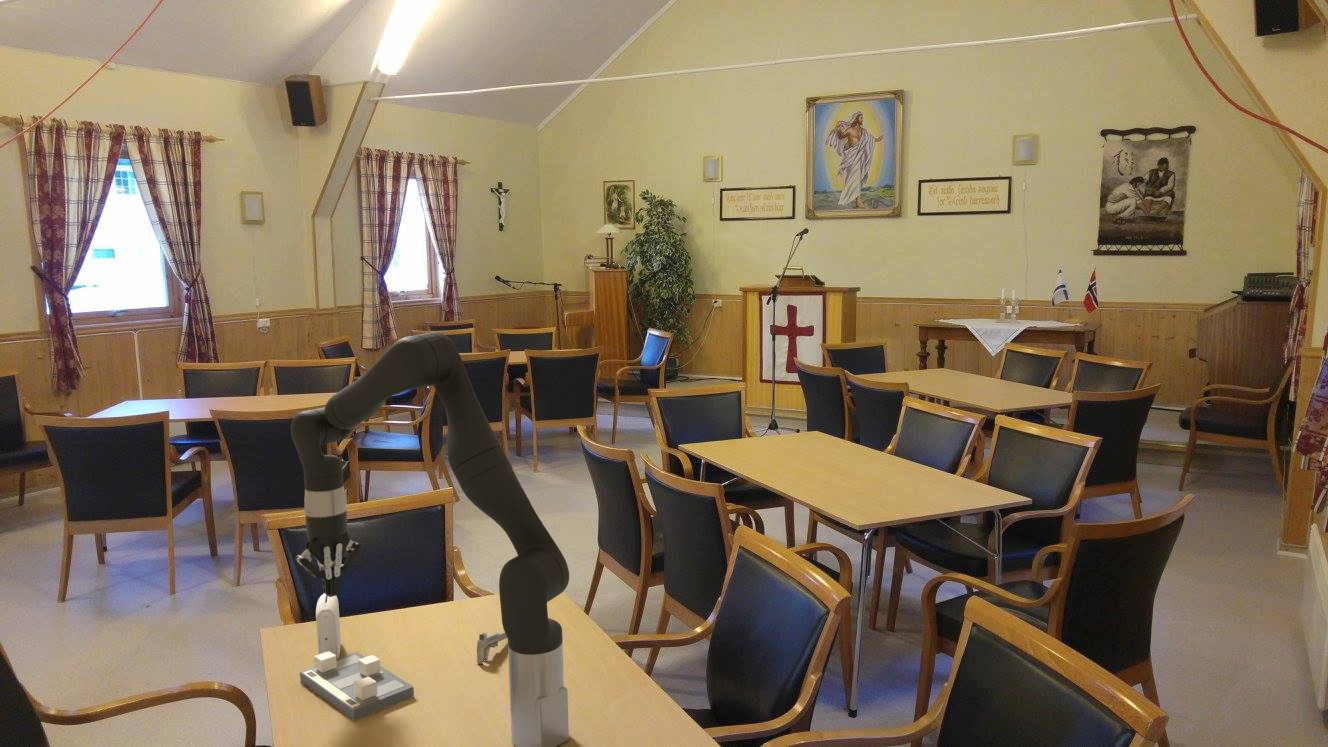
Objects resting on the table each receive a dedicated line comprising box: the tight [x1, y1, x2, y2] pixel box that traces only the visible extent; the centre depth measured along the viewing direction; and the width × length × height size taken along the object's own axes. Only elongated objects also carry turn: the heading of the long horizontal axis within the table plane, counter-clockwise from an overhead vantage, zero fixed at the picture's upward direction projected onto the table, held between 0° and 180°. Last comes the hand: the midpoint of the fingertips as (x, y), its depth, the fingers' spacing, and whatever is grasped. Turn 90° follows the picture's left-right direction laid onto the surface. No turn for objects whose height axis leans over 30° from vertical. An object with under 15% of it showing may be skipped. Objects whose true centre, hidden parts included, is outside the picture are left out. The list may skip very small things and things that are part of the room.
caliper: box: [476, 629, 508, 665], centre depth 192 cm, size 20×1×6 cm, turn 161°
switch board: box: [299, 651, 415, 721], centre depth 173 cm, size 22×12×2 cm, turn 46°
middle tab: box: [358, 654, 382, 677], centre depth 175 cm, size 3×3×2 cm
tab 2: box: [354, 677, 377, 700], centre depth 166 cm, size 3×3×2 cm
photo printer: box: [315, 593, 342, 659], centre depth 188 cm, size 10×4×12 cm, turn 17°
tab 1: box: [313, 651, 337, 673], centre depth 177 cm, size 3×3×2 cm
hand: (331, 595), depth 177 cm, fingers closed
